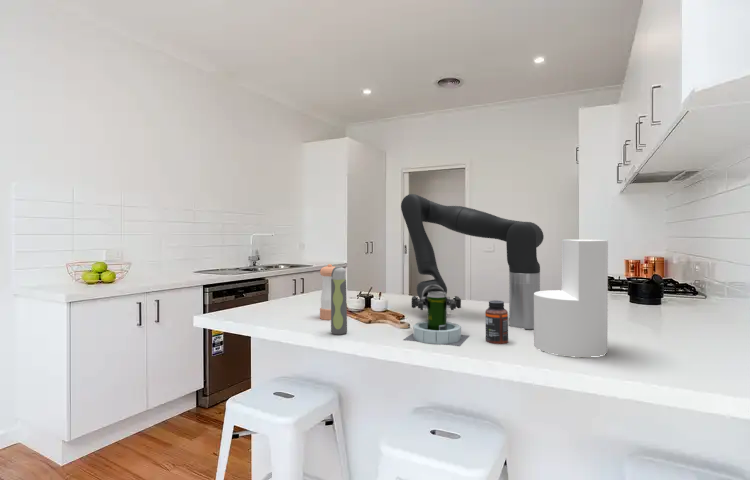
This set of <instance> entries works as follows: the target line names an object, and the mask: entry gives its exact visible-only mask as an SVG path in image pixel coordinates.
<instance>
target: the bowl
mask: <svg viewBox="0 0 750 480" xmlns="http://www.w3.org/2000/svg"><path fill="white" fill-rule="evenodd" d="M412 328H413V329H412V332H413V333H412V334H413V337H414V339H415V340H417V341H420V342H419V343H422V344H423V343H424V344H432V345H443V344H448V343H449V344H450V343H454V342H458V341H459V340H460V339H461V335H462V326H460V324H457V323H455V322H452V321H447V330H427V320H426V321H421V322H417V323H415V324H413V325H412Z"/></svg>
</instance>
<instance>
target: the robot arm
mask: <svg viewBox="0 0 750 480" xmlns="http://www.w3.org/2000/svg"><path fill="white" fill-rule="evenodd" d="M400 211H401V213H402V217H403V219H404V222H405V223H406V224H405V225H406V228H407V229H408V233H409V237H410V240H411V243H412V247H413V252H414V256H415V262H416V266H417V267H416V268H417V272H418V274H420V275H423V276H424V275H426V276H432V277H433V279H428V280H424V281H420V282H419V283H417V286H416V293H417V296H416V295H413V296H412V297H411V308H412V309H415V308H417V309H420V311H423V310H424V309H427V296H428V292H431V291H441V292H446V296H447V310H448V309H450V310H451V311H454V310H456V309H461V308H462V298H460V297H459V296H458V295H455V296H453V297H452V298H451V297H450V296H448V295H447V293H448V288H447V285H446V282H445V281H444V279H443V277H442V275H441V273H440V270H439V268H438V264H437V260H436V255H435V254H436V253H435V250H434V247H433V244H432V243H431V241H430V240H431V239H430V238H429V236H428V234H427V232H426V230H425V226H424V223H430V224H435V225H438V226H439V225H440V226H442V227H445V228H446V229H448V230H450V231H453V232H457V233H458V234H463V235H467V236H471V237H476V238H483V239H492V240H493V239H495V240H499V241H503V242H505V243H506V244H505V245H506V261H507V265H508V270H509V271H508V274H509V275H508V277H509V279H508V281H509V283H508V285H509V286H508V287H509V288H508V291H509V292H508V293H509V295H508V297H509V298H508V300H509V301H508V304H509V307H508V309H509V310H508V311H509V312H508V315H509V316H508V326H510V327H513V328H516V329H517V328H518V329H524V330H534V293H535V292H538V291H541V264H540V263H539V261H538V255H537V248H538V247H540V246H541V244H542V243H543V241H544V239H545V238H544V231H543V229H541V227H540V226H539V225H538V224H536V223H535V222H531V221H522V220H513V219H507V218H504V217H500V216H496V215H494V214H491V213H488V212H485V211H482V210H479V209H474V208H471V207H467V206H460V205H444V204H440V203H438V202H434V201H432V200H430V199H427V198H425V197H423V196H420V195H418V194H414V193H409V194H407V195H405V196H404V197H403V199H402V201H401V204H400Z"/></svg>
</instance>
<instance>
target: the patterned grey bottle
mask: <svg viewBox="0 0 750 480" xmlns="http://www.w3.org/2000/svg"><path fill="white" fill-rule="evenodd" d="M331 276H332V279H331V320H330V333H331V334H332V335H337V336H339V335H340V336H341V335H345V334H347V332H348V311H347V310H348V309H347V306H348V305H347V303H348V302H347V280H346V268H344V267H342V266H335V268H334V269H333V271H332V274H331Z"/></svg>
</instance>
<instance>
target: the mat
mask: <svg viewBox="0 0 750 480" xmlns="http://www.w3.org/2000/svg"><path fill="white" fill-rule="evenodd" d="M469 337H470V335H469V334H468V335H467V334H461V339H460V340H459V341H458V342H454V343H450V344H449V343H448V344H442V345H443V346H453V347H461V346H462V345H463V344H464V343H465V341H467V340H468V338H469ZM402 341H407V342H408V341H409V342H416V343H417V342H418V343H421V342H420V341H417V340H415V339H414V337H413V333H411V334H410V335H408V336H406V337H405V338H403V339H402Z"/></svg>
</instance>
